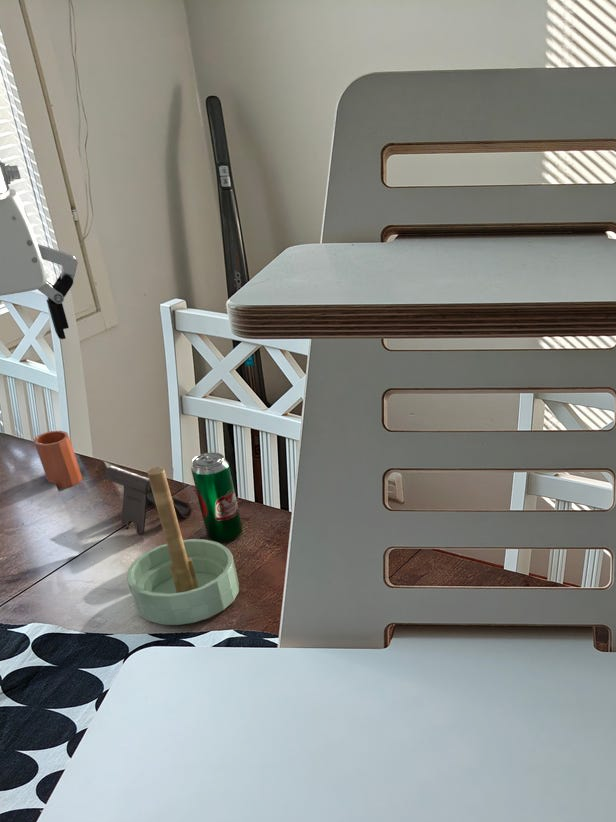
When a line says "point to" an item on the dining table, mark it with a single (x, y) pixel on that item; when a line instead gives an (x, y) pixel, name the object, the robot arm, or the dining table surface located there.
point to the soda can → (216, 497)
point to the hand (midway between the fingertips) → (17, 343)
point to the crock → (58, 459)
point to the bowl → (172, 608)
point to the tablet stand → (139, 497)
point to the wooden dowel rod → (172, 532)
